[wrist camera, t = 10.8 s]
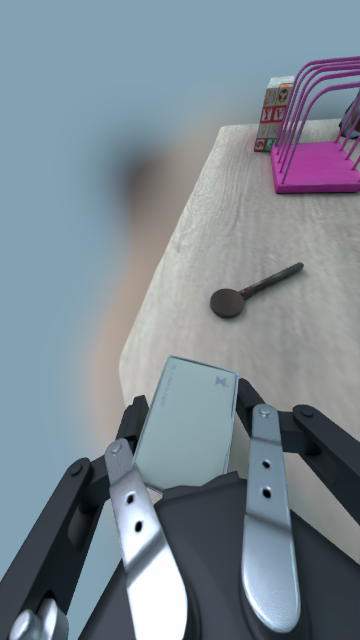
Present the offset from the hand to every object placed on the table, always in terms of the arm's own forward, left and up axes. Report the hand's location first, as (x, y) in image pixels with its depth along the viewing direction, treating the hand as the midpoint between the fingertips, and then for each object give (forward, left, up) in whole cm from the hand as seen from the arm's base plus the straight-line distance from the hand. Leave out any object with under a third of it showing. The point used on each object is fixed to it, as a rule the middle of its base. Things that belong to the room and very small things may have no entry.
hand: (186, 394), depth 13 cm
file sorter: (-54, -35, -8) cm, 65 cm away
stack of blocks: (-62, -60, -8) cm, 87 cm away
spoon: (-18, -10, -8) cm, 21 cm away
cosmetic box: (0, +2, -8) cm, 8 cm away
